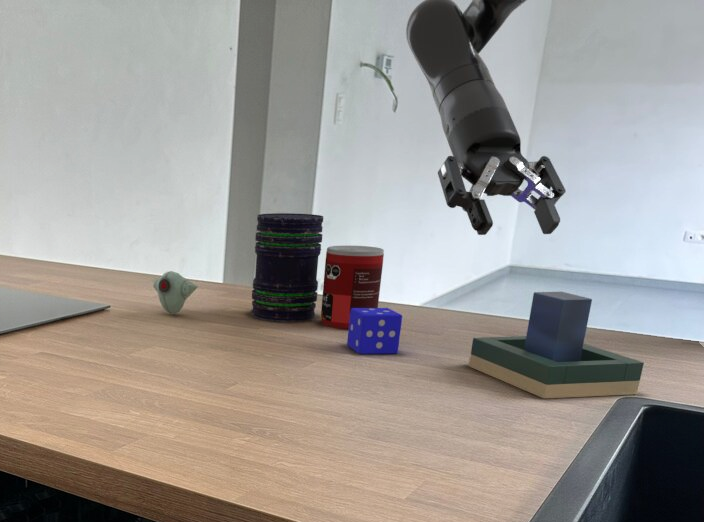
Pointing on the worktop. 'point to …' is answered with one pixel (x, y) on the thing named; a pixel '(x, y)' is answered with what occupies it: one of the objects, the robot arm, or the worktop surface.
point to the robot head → (173, 291)
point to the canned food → (350, 282)
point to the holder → (556, 369)
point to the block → (557, 326)
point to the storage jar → (286, 266)
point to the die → (374, 330)
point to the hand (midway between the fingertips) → (519, 230)
